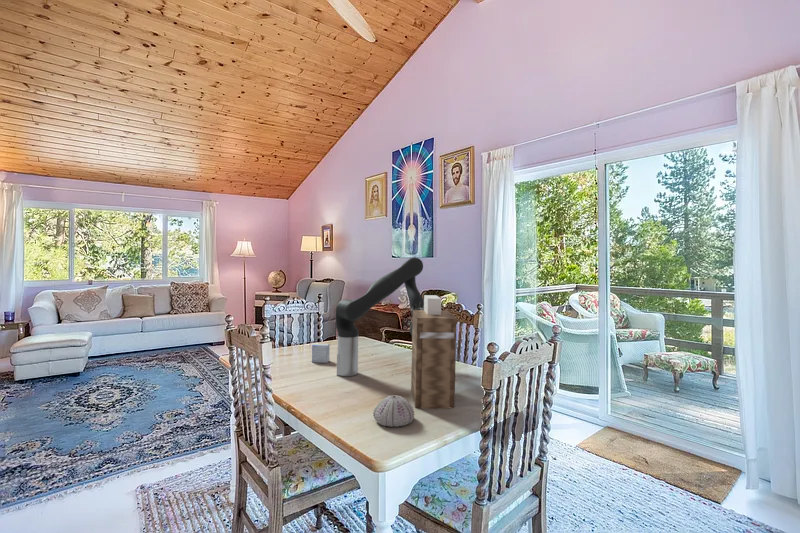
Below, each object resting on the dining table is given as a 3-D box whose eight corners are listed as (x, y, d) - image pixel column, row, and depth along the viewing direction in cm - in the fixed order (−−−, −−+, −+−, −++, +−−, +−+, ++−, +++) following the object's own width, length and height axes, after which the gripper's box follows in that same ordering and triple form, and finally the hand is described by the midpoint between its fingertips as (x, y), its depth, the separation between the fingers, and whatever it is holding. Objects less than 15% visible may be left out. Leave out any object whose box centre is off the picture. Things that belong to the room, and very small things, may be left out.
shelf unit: (415, 409, 138) (417, 318, 137) (410, 389, 158) (412, 310, 157) (455, 409, 138) (457, 318, 138) (445, 389, 159) (447, 310, 158)
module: (427, 314, 146) (427, 298, 146) (421, 307, 167) (421, 293, 166) (440, 314, 146) (441, 298, 146) (433, 307, 167) (433, 293, 167)
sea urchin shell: (416, 429, 122) (417, 404, 122) (372, 430, 121) (373, 404, 121) (412, 412, 135) (412, 389, 135) (372, 413, 134) (372, 389, 134)
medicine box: (329, 360, 199) (329, 343, 199) (327, 363, 194) (327, 345, 194) (314, 360, 200) (314, 343, 199) (311, 362, 195) (311, 345, 195)
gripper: (408, 308, 178) (411, 293, 163) (439, 309, 179) (445, 293, 164) (408, 324, 175) (411, 309, 160) (440, 325, 175) (446, 310, 160)
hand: (428, 301), depth 162 cm, fingers closed on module, 4 cm apart
